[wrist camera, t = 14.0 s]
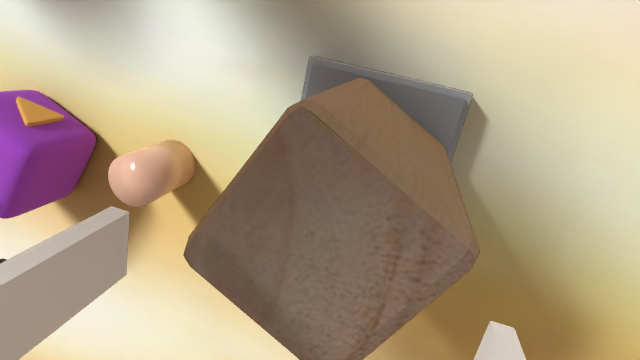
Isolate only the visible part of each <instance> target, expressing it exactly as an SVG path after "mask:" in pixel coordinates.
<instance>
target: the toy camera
mask: <svg viewBox="0 0 640 360" xmlns="http://www.w3.org/2000/svg"><path fill="white" fill-rule="evenodd" d="M95 144H96V137H95V135H94V134H93V133H92V132H91V131H90V130H89V129H88V128H87V127H86V126H84V125H83V124H82V123H81V122H79V121H78V120H77V119H76V118H74V117H73V116H72V115H70V114H69V113H68V112H67V111H65V110H64V109H63V108H61V107H60V106H59V105H57V104H56V103H55V102H54V101H52V100H51V99H50V98H48V97H47V96H45V95H44V94H42V93H40V92H38V91H34V90H18V91H4V92H0V218H11V217H15V216H18V215H21V214H23V213H26V212H29V211H31V210H34V209H36V208H38V207H41V206H43V205H46V204H48V203H51V202H53V201H56V200H58V199H61V198H63V197H65V196H67V195H68V194H70V193H71V192H72V191H73V189H74V188H75V186H76V184H77V182H78V181H79V179H80V176H81V174H82V172H83V170H84V168H85V166H86V164H87V162H88V160H89V158H90V156H91V154H92V152H93V150H94V147H95Z"/></svg>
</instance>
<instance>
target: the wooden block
mask: <svg viewBox="0 0 640 360" xmlns="http://www.w3.org/2000/svg"><path fill="white" fill-rule="evenodd" d="M479 253H480V251H479V248H478V245H477V242H476V239H475V236H474V233H473V230H472V227H471V224H470V221H469V218H468V215H467V212H466V209H465V206H464V203H463V200H462V197H461V194H460V191H459V188H458V185H457V182H456V179H455V176H454V173H453V170H452V167H451V164H450V162H449V159H448V156H447V153H446V151H445V148H444V146H443V145H442V144H441V143H440V142H439V141H438V140H437V139H435V138H434V137H433V136H432V135H431V134H430V133H429V132H427V131H426V130H425V129H424V128H423V127H422V126H421V125H419V124H418V123H417V122H416V121H415V120H414V119H413V118H411V117H410V116H409V115H408V114H407V113H406V112H405V111H403V110H402V109H401V108H400V107H399V106H398V105H397V104H395V103H394V102H393V101H392V100H391V99H390V98H389V97H387V96H386V95H385V94H384V93H383V92H382V91H381V90H379V89H378V88H377V87H376V86H375V85H374V84H373V83H371V82H370V81H369V80H366V79H363V78H357V79H355V80H352V81H349V82H347V83H344V84H342V85H339V86H337V87H334V88H331V89H329V90H326V91H324V92H321V93H318V94H316V95H313V96H311V97H308V98H305V99H303V100H301V101H300V102H298V103H296V104H294V105H292V106H290V107H289V108H287V110H286V111H285V112H284V114H283V115H282V116H281V118H280V119H279V120H278V121H277V123H276V124H275V125H274V127H273V128H272V129H271V131H270V132H269V133H268V134H267V136H266V137H265V138H264V140H263V141H262V142H261V144H260V145H259V146H258V147H257V149H256V150H255V151H254V153H253V154H252V155H251V156H250V158H249V159H248V160H247V162H246V163H245V164H244V166H243V167H242V168H241V169H240V171H239V172H238V173H237V175H236V176H235V177H234V179H233V180H232V181H231V182H230V184H229V185H228V186H227V188H226V189H225V190H224V191H223V193H222V194H221V195H220V197H219V198H218V199H217V201H216V202H215V203H214V204H213V206H212V207H211V208H210V210H209V211H208V212H207V214H206V215H205V216H204V217H203V219H202V220H201V221H200V223H199V224H198V225H197V227H196V228H195V229H194V230H193V232H192V233H191V234H190V236H189V238H188V241H187V245H186V248H185V251H184V257H185V259H186V261H187V262H188V264H189V266H190V267H191V268H193V269H194V270H195V271H196V272H197V273H198V274H200V275H201V276H202V277H203V278H204V279H205V280H207V281H208V282H209V283H210V284H211V285H213V286H214V287H215V288H216V289H217V290H218V291H220V292H221V293H222V294H223V295H224V296H225V297H227V298H228V299H229V300H230V301H231V302H233V303H234V304H235V305H236V306H237V307H238V308H240V309H241V310H242V311H243V312H244V313H245V314H247V315H248V316H249V317H250V318H251V319H253V320H254V321H255V322H256V323H257V324H258V325H260V326H261V327H262V328H263V329H264V330H265V331H267V332H268V333H269V334H270V335H271V336H273V337H274V338H275V339H276V340H277V341H278V342H280V343H281V344H282V345H283V346H284V347H285V348H287V349H288V350H289V351H290V352H291V353H293V354H294V355H295V356H296V357H297V358H298V359H300V360H363V359H364V358H365V357H366V356H368V355H369V354H370V353H371V352H373V351H374V350H375V349H376V348H377V347H379V346H380V345H381V344H382V343H383V342H385V341H386V340H387V339H388V338H389V337H391V336H392V335H393V334H394V333H395V332H397V331H398V330H399V329H400V328H401V327H403V326H404V325H405V324H406V323H407V322H409V321H410V320H411V319H412V318H413V317H415V316H416V315H417V314H418V313H419V312H421V311H422V310H423V309H424V308H425V307H427V306H428V305H429V304H430V303H431V302H433V301H434V300H435V299H436V298H437V297H439V296H440V295H441V294H442V293H443V292H445V291H446V290H447V289H448V288H449V287H451V286H452V285H453V284H454V283H455V282H457V281H458V280H459V279H460V278H462V277H463V276H464V275H465V274H466V273H468V272H469V271H470V269H471V268H472V267H473V265H474V263H475V261H476V259H477V257H478V255H479Z"/></svg>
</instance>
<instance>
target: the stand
mask: <svg viewBox="0 0 640 360" xmlns="http://www.w3.org/2000/svg"><path fill="white" fill-rule="evenodd" d="M357 78H363V79H366V80H369V81H370V82H371V83H373V84H374V85H375V86H376V87H377V88H378V89H379V90H381V91H382V92H383V93H384V94H385V95H386V96H387V97H389V98H390V99H391V100H392V101H393V102H394V103H395V104H397V105H398V106H399V107H400V108H401V109H402V110H403V111H405V112H406V113H407V114H408V115H409V116H410V117H411V118H413V119H414V120H415V121H416V122H417V123H418V124H419V125H421V126H422V127H423V128H424V129H425V130H426V131H427V132H429V133H430V134H431V135H432V136H433V137H434V138H435V139H437V140H438V141H439V142H440V143H441V144H442V145H443V146H444V148H445V151H446V153H447V156H448V159H449V162H450V163H451V160H452V157H453V154H454V150H455V147H456V144H457V141H458V138H459V135H460V132H461V129H462V126H463V123H464V120H465V117H466V114H467V111H468V108H469V105H470V102H471V99H472V96H473V94H472V93H470V92H467V91H463V90H458V89H454V88H450V87H445V86H441V85H437V84H432V83H428V82H424V81H419V80H415V79H411V78H406V77H402V76H398V75H393V74H389V73H385V72H381V71H376V70H372V69H368V68H363V67H359V66H355V65H350V64H346V63H342V62H337V61H333V60H329V59H324V58H320V57H309V62H308V67H307V72H306V77H305V82H304V87H303V93H302V98H301V100H303V99H305V98H308V97H311V96H313V95H316V94H318V93H321V92H324V91H326V90H329V89H331V88H334V87H337V86H339V85H342V84H344V83H347V82H349V81H352V80H355V79H357Z"/></svg>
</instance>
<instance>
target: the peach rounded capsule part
mask: <svg viewBox="0 0 640 360" xmlns="http://www.w3.org/2000/svg"><path fill="white" fill-rule="evenodd" d="M195 169H196V164H195V159H194V156H193V154H192V152H191V151H190V150H189V148H188V147H187V146H186V145H184V144H183V143H181V142H179V141H176V140H166V141H163V142H160V143H157V144H154V145H151V146H148V147H145V148H142V149H139V150H136V151H134V152H131V153H128V154H125V155H122V156H119V157H117V158H116V159H115V160H114V161H113V162H112V163H111V165H110V167H109V171H108V180H109V184H110V187H111V189H112V191H113V193H114V194H115V195H116V197H117V198H118V199H119V200H121V201H122V202H123V203H125V204H127V205H129V206H133V207H143V206H146V205H147V204H149V203H151V202H153V201H155V200H157V199H158V198H160V197H162V196H164V195H166V194H167V193H169V192H171V191H173V190H175V189H176V188H178V187H180V186H182V185H184V184H185V183H187V182H189V181H190V180H191V179H192V177H193V176H194V173H195Z"/></svg>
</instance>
